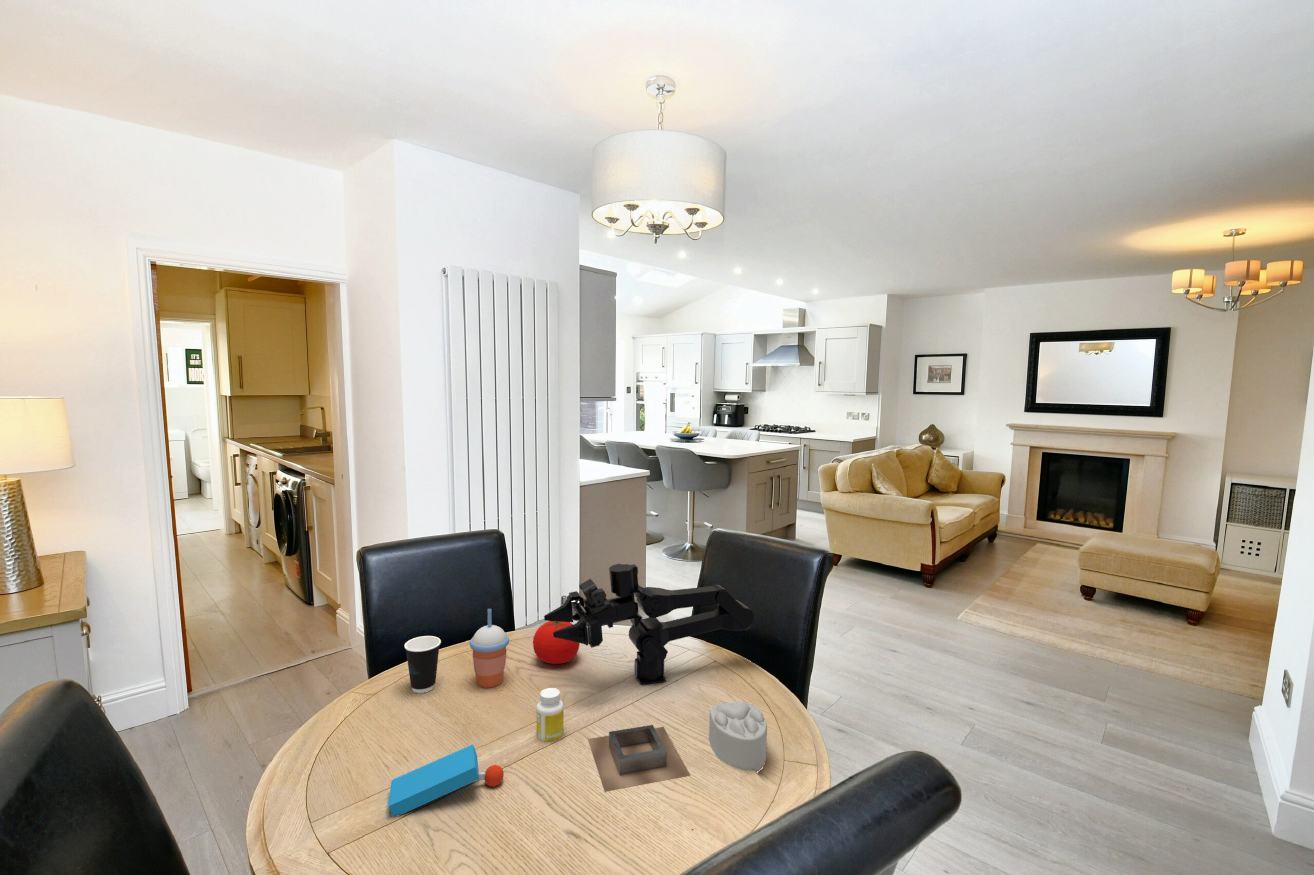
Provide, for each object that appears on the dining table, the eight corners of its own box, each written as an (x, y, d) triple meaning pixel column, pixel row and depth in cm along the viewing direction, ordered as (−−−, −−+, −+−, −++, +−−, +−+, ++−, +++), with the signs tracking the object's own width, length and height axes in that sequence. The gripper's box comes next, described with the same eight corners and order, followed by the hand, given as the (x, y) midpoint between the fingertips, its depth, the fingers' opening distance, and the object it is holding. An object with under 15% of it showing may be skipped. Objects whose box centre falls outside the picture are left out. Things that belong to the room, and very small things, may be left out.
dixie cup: (400, 697, 135) (399, 650, 134) (411, 679, 143) (411, 635, 142) (435, 696, 135) (435, 650, 134) (445, 679, 143) (444, 635, 142)
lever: (401, 841, 99) (507, 791, 104) (388, 806, 97) (496, 757, 103) (404, 813, 105) (504, 767, 111) (391, 779, 104) (493, 735, 109)
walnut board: (663, 732, 123) (663, 726, 123) (690, 781, 108) (690, 775, 108) (587, 744, 118) (587, 738, 118) (604, 797, 103) (604, 791, 103)
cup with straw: (503, 691, 138) (503, 617, 136) (464, 690, 138) (464, 616, 136) (513, 673, 147) (513, 602, 145) (477, 672, 147) (476, 601, 146)
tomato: (581, 650, 160) (581, 613, 159) (577, 671, 149) (578, 630, 148) (536, 650, 160) (536, 613, 159) (529, 671, 148) (529, 631, 147)
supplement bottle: (568, 735, 121) (568, 689, 121) (553, 749, 117) (553, 702, 116) (546, 728, 124) (546, 683, 123) (530, 742, 119) (530, 695, 118)
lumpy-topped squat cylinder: (751, 733, 124) (753, 693, 123) (776, 772, 111) (778, 729, 110) (703, 737, 122) (705, 697, 121) (723, 779, 109) (725, 734, 108)
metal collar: (652, 738, 119) (652, 724, 118) (666, 766, 110) (666, 751, 110) (608, 746, 116) (608, 731, 116) (619, 775, 108) (619, 759, 107)
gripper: (598, 566, 148) (537, 578, 143) (623, 593, 131) (554, 608, 126) (602, 607, 150) (541, 622, 144) (627, 639, 133) (559, 657, 127)
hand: (548, 626), depth 135 cm, fingers open, 9 cm apart
